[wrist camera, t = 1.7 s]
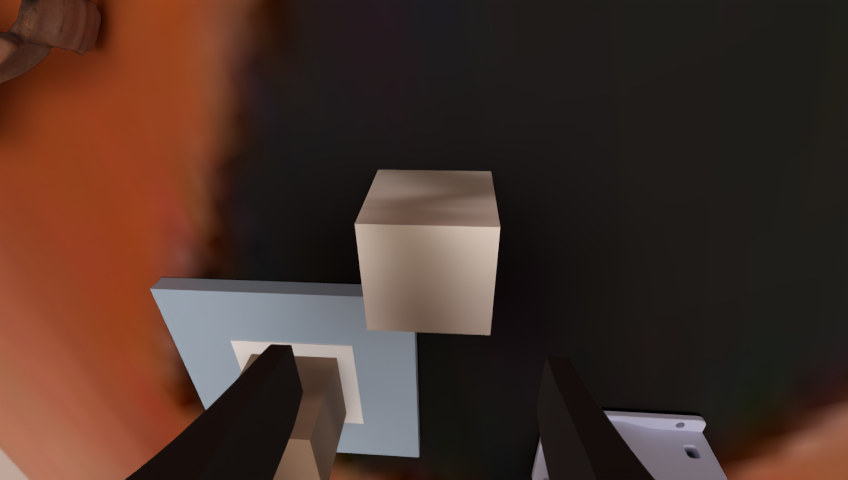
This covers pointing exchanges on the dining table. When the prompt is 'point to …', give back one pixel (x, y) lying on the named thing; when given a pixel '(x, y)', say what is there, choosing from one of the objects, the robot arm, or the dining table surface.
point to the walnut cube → (313, 421)
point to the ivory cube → (429, 251)
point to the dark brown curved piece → (47, 33)
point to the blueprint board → (300, 349)
